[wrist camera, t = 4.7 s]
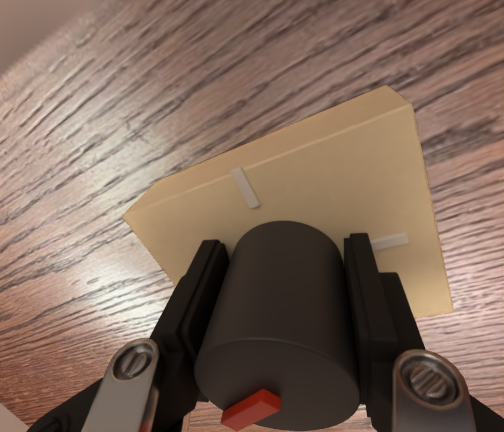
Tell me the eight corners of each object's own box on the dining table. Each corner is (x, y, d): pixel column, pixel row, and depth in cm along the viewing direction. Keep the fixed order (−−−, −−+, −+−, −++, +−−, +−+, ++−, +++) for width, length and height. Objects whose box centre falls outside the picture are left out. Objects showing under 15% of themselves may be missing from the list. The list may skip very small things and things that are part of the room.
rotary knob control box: (386, 80, 10) (414, 99, 7) (428, 260, 13) (457, 318, 11) (154, 179, 13) (116, 216, 11) (235, 300, 17) (221, 351, 14)
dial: (275, 198, 9) (249, 324, 5) (368, 263, 10) (406, 416, 6) (214, 267, 11) (162, 395, 7) (294, 317, 12) (286, 457, 8)
